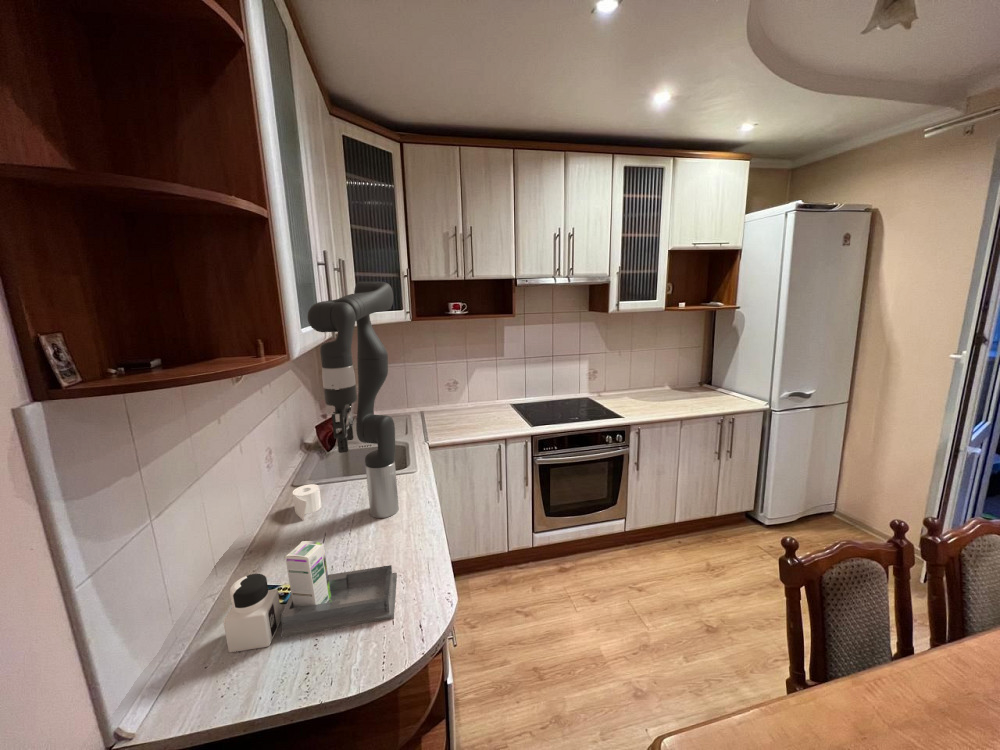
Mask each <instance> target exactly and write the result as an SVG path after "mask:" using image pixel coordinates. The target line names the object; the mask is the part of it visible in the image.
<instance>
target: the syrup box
mask: <svg viewBox="0 0 1000 750" xmlns="http://www.w3.org/2000/svg"><path fill="white" fill-rule="evenodd" d="M284 557H285V558H284V559H285V564H286V569H287V576H288V582H289V588H290V595H292V601H293V607H294V608H299V607H305V606H311V605H317V604H323V603H327V601H328V600H329V599H330V598H331V592H330V585H329V578H328V575H329V573H328V565H327V557H326V552H325V544H324V542H320V541H314V540H313V541H312V540H305V541H304V540H302V541H301V542H299V544H298V545H296V547H294V548H293V549H292V550H291V551H290V552H289V553H288V554H287V555H285V556H284Z"/></svg>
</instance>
